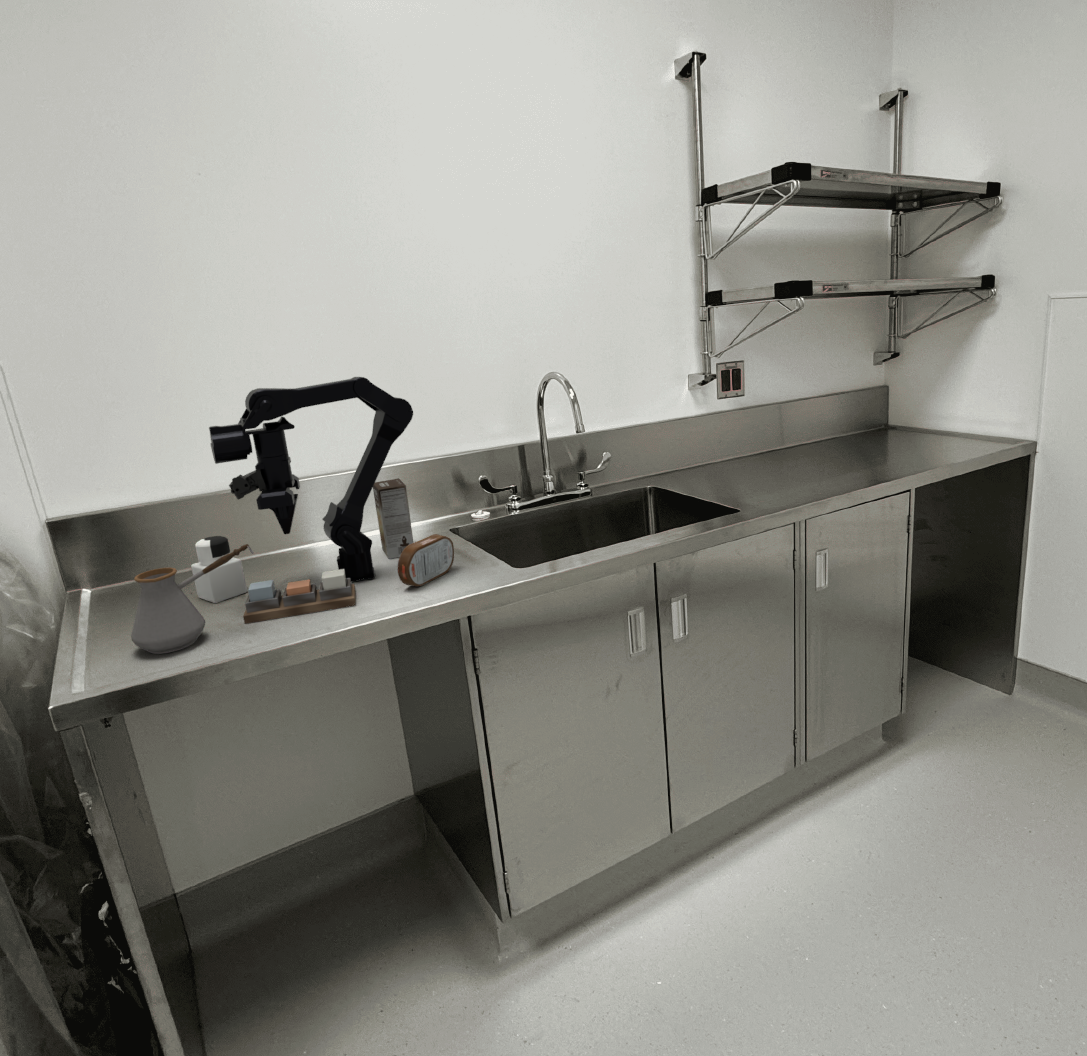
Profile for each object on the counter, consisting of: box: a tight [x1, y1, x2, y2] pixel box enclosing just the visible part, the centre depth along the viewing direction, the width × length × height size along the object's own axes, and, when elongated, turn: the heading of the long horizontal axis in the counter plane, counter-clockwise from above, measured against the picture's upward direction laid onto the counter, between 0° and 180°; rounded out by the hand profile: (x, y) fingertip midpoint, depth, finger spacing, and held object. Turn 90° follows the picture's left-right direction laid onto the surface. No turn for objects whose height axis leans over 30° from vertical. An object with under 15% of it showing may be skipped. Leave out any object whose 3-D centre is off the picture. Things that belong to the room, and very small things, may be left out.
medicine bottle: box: [190, 535, 248, 604], centre depth 147 cm, size 7×7×12 cm
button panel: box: [242, 578, 357, 625], centre depth 138 cm, size 20×8×3 cm, turn 104°
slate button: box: [247, 579, 276, 602], centre depth 136 cm, size 4×4×3 cm
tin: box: [397, 533, 455, 587], centre depth 146 cm, size 15×3×8 cm, turn 149°
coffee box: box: [372, 478, 415, 560], centre depth 165 cm, size 9×6×16 cm
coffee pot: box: [130, 543, 255, 655], centre depth 126 cm, size 21×12×15 cm, turn 115°
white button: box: [321, 569, 347, 590], centre depth 138 cm, size 4×4×3 cm
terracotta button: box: [286, 579, 312, 596], centre depth 137 cm, size 4×4×3 cm
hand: (287, 533), depth 144 cm, fingers closed
